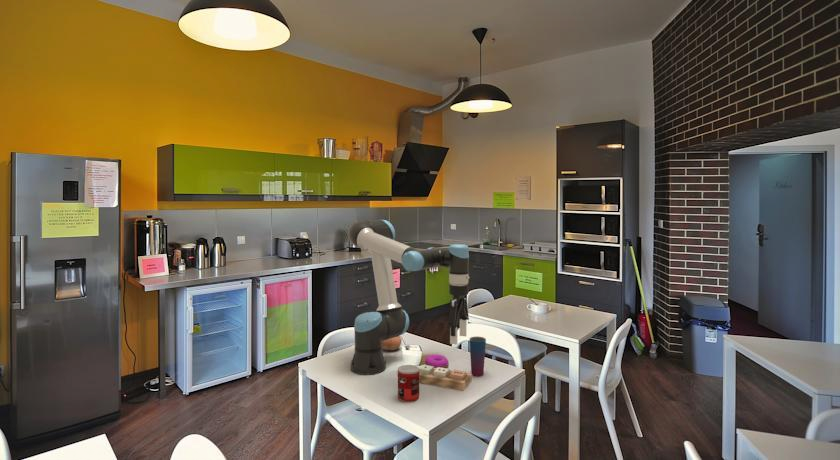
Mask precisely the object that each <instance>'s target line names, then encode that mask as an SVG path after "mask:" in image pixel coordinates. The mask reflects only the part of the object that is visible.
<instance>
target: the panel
mask: <svg viewBox="0 0 840 460" xmlns="http://www.w3.org/2000/svg"><path fill="white" fill-rule="evenodd" d="M436 369H437V368H434V370H436ZM453 371H454V370H450V374H451V373H452V372H453ZM450 374H449V375H448V376H447V377H446V378H445V377H439V376H434V371H433V372H432V373H431V374H430V375H427V374H422V373H419V384H424V385H431V386H435V387H442V388H447V389H451V390H452V389H453V390H459V391H464V390H466V388H467V387H468V386H469V385H470V384H471V383H472V377H473V375H472V374H471V373H469V372H466V378H465V379H464V380H463V381H462V380H456V379H451V378H450Z"/></svg>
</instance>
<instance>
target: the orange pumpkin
mask: <svg viewBox="0 0 840 460" xmlns="http://www.w3.org/2000/svg"><path fill="white" fill-rule="evenodd" d="M401 345H402V338H401V335H400V336H398V337H394V338H390V339H387V340H384V341H382V350H383V349H384V350H385V351H389V350H391V351H395V350H397V349H399V348H401V347H400V346H401Z"/></svg>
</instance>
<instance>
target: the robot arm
mask: <svg viewBox="0 0 840 460" xmlns="http://www.w3.org/2000/svg"><path fill="white" fill-rule="evenodd" d="M347 233H348V235H347V236H348V240H349V241H350V243H351V244H352V245H353V246H355V247H356V248H358V249H361V250H366V251H367V252H368V253H369V254H370V256H371V264H372V268H373V269H372V271H373V275H374V282H375V289H376V294H377V295H376V296H377V303H378V307H377V308H376V309H375V310H376V311H370V312H368V311H367V312H362V313H361V314H359V315H357V316H356V318H354V319H355V320H354V325H353V326H354V327H353V328H354V352H353V356H352V359H351V362H350V370H351V372H353V373H355V374H358V375H375V374H378V373H379V374H380V373H381V372H384V371H385V370H386V368H387V362H386V359H385V355H384V353H383V348H382V341H384V340H387V339H390V338H394V337H398V336H400V337H401V336H402V335H404V334H405V333H406V332H407V331H408V329H409V326H410V317H409V314H408V313H407V312H406V310H405V309H403V308H402V307H403V306H402V305H401V304H400V303H399V302H398V297H397V291H396V290H397V289H396V285H395V278H394V273H393V266H392V261H394V262H396V263H400V264H401V265H402V268H404V269H405V270H406V271H409V272H418V271H423V270H427V269H433V268H434V269H435V268H447V269H448V271H449V273H448V274H449V275H448V277H449V278H448V283H449V286H448V287H449V288H448V293H449V295H452V298H453V299H451V300H449V313H448V321H447V328H449V344H450V345H458V327H457V325H458V320H459V337H467V328H468V327H467V326H468V325H467V323H468V322H467V321H468V320H470V317H469V316H470V315H469V306H468V295H469V288H470V287H469V286H470V285H469V279H470V276H469V266H470V265H469V264H470V263H469V261H470V255H469V254H470V253H469V246H468V245H466V244H461V243H460V244H459V243H458V244H457V243H456V244H450V245H449V248H442V247H437V246H436V247H433V246H432V247H428V248H426V249H420V250H419V249H417V248H414V247H412V246H409V245H408V244H404V243H403V242H402V243H401V242H399V241H396V240H395V238H396V230H395V228H394V226H393V224H392V223H391V222H390V221H388V220H385V219H366V220H363V219H362V220H357V221H355V222H354V223H353V224H352V225H351V226H350V227H349V229H348V232H347Z"/></svg>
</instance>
